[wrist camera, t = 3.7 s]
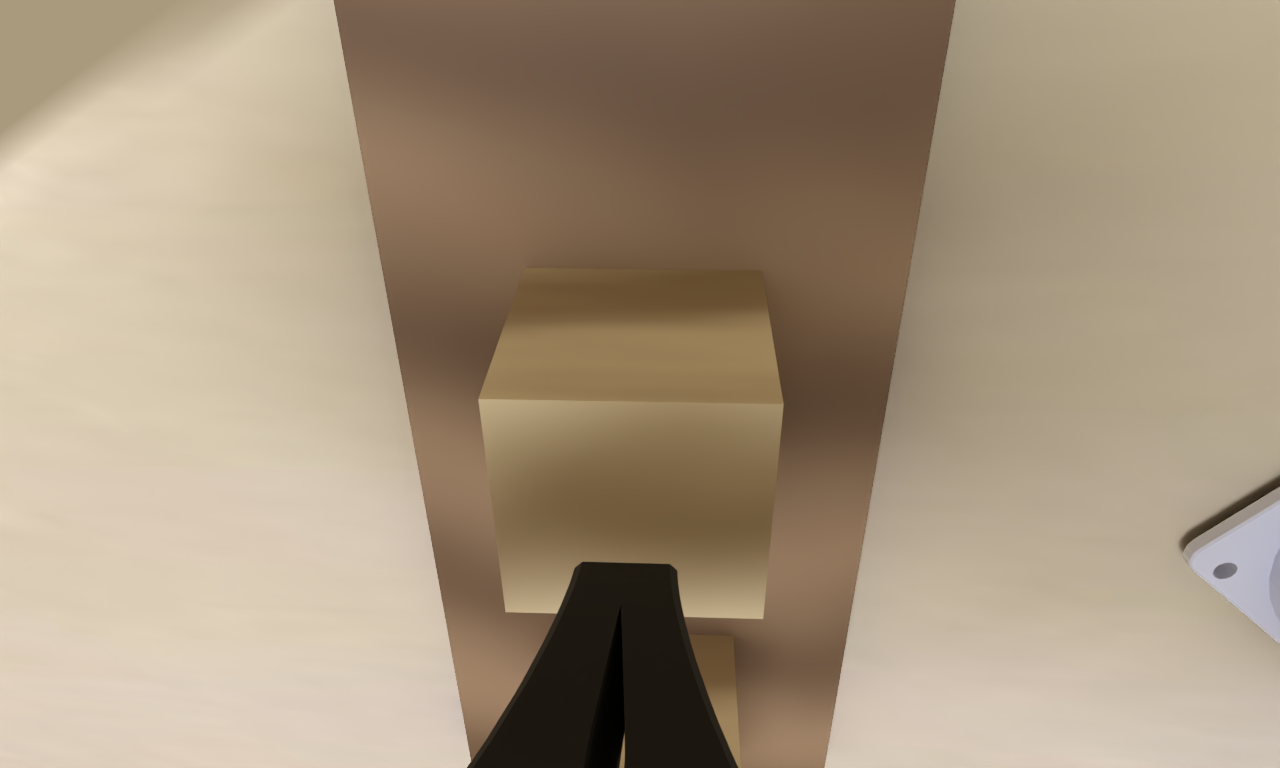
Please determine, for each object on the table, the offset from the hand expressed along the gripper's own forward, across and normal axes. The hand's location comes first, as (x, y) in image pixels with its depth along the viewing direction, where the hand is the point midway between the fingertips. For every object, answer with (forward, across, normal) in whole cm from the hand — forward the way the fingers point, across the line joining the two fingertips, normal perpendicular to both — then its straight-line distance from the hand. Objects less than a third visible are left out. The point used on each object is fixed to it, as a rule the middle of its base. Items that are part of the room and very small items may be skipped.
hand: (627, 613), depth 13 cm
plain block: (+6, 0, 0) cm, 6 cm away
